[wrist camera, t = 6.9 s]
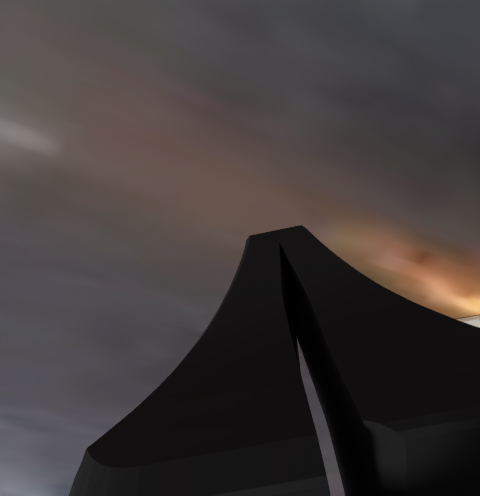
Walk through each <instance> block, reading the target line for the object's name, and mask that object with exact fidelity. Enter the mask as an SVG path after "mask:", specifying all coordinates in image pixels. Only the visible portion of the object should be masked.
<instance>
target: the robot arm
mask: <svg viewBox="0 0 480 496" xmlns="http://www.w3.org/2000/svg"><path fill="white" fill-rule="evenodd" d="M296 336H297V337H296ZM297 339H298V342H299V344H300V347H301V350H302V353H303V356H304V359H305V361H306V364H307V367H308V370H309V373H310V376H311V378H312V381H313V384H314V387H315V390H316V393H317V395H318V398H319V401H320V404H321V407H322V409H323V412H324V415H325V419H326V422H327V425H328V428H329V432H330V435H331V439H332V443H333V447H334V451H335V455H336V459H337V463H338V467H339V471H340V475H341V480H342V484H343V488H344V492H345V496H480V328H479V327H476V326H473V325H470V324H467V323H464V322H462V321H459V320H456V319H453V318H450V317H448V316H445V315H443V314H440V313H438V312H436V311H433V310H431V309H428V308H426V307H423V306H421V305H419V304H416V303H414V302H412V301H410V300H408V299H406V298H404V297H402V296H400V295H398V294H396V293H394V292H392V291H390V290H388V289H386V288H384V287H383V286H381V285H379V284H377V283H376V282H374V281H372V280H371V279H369V278H368V277H366V276H365V275H363V274H362V273H360V272H359V271H357V270H356V269H354V268H353V267H351V266H350V265H349V264H347V263H346V262H345V261H343V260H342V259H341V258H340V257H338V256H337V255H336V254H334V253H333V252H332V251H331V250H329V249H328V248H327V247H326V246H325V245H324V244H322V243H321V242H320V241H319V240H318V239H317V238H316V237H315V236H313V235H312V234H311V233H310V232H309V231H308V230H307V229H306V228H305V227H303V226H302V225H300V226H295V227H290V228H285V229H280V230H276V231H271V232H266V233H261V234H256V235H251V236H249V238H248V239H247V240H246V245H245V249H244V253H243V256H242V259H241V262H240V264H239V267H238V270H237V272H236V274H235V277H234V279H233V281H232V284H231V286H230V288H229V290H228V292H227V294H226V296H225V298H224V300H223V301H222V303H221V305H220V307H219V309H218V311H217V313H216V314H215V316H214V318H213V319H212V321H211V322H210V324H209V326H208V327H207V329H206V330H205V331H204V333H203V334H202V336H201V337H200V339H199V340H198V342H197V343H196V344H195V345H194V347H193V348H192V349H191V351H190V352H189V353H188V354H187V356H186V357H185V358H184V359H183V361H182V362H181V363H180V364H179V365H178V367H177V368H176V369H175V370H174V371H173V372H172V373H171V374H170V375H169V376H168V377H167V378H166V379H165V380H164V382H163V383H162V384H161V385H160V386H159V387H158V388H157V389H156V390H155V391H153V392H152V393H151V394H150V395H149V396H148V397H147V398H146V399H145V400H144V401H143V402H142V403H141V404H140V405H139V406H138V407H136V408H135V409H134V410H133V411H132V412H131V413H130V414H128V415H127V416H126V417H125V418H124V419H122V420H121V421H120V422H119V423H117V424H116V425H115V426H114V427H113V428H111V429H110V430H109V431H108V432H107V433H105V434H104V435H103V436H102V437H101V438H99V439H98V440H97V441H96V442H94V443H93V444H92V445H90V446H89V447H88V448H87V449H86V451H85V454H84V457H83V460H82V462H81V465H80V467H79V470H78V472H77V474H76V477H75V479H74V482H73V485H72V488H71V491H70V494H69V496H330V491H329V485H328V480H327V476H326V471H325V467H324V463H323V459H322V454H321V450H320V446H319V442H318V437H317V433H316V430H315V426H314V422H313V418H312V415H311V411H310V407H309V403H308V400H307V396H306V392H305V388H304V384H303V381H302V377H301V371H300V362H299V354H298V345H297Z"/></svg>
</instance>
